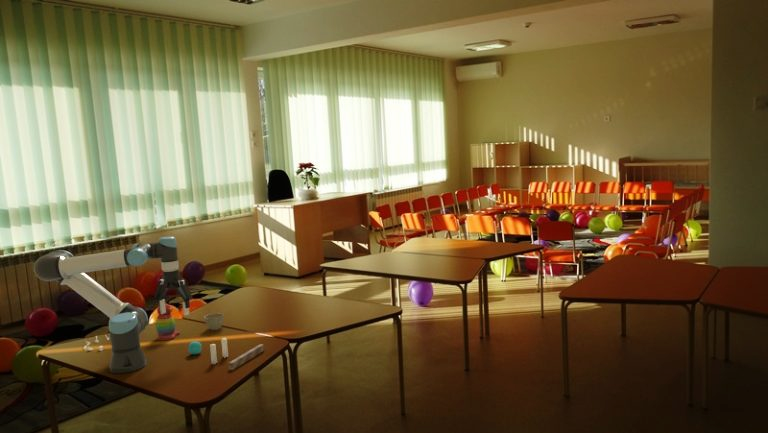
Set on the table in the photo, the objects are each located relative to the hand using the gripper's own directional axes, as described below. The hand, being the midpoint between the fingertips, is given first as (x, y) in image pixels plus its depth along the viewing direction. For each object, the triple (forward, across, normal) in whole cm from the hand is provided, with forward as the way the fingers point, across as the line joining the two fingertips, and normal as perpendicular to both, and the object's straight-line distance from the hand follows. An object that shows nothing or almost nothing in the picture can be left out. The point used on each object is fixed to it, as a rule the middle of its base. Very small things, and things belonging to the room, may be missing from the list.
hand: (175, 314), depth 274 cm
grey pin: (+18, -27, +9) cm, 34 cm away
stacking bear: (+19, +22, -18) cm, 35 cm away
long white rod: (+18, -40, +2) cm, 44 cm away
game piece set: (+20, +48, -2) cm, 52 cm away
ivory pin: (+18, -27, +1) cm, 33 cm away
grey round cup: (+19, +5, -35) cm, 40 cm away
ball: (+16, -10, +1) cm, 19 cm away
